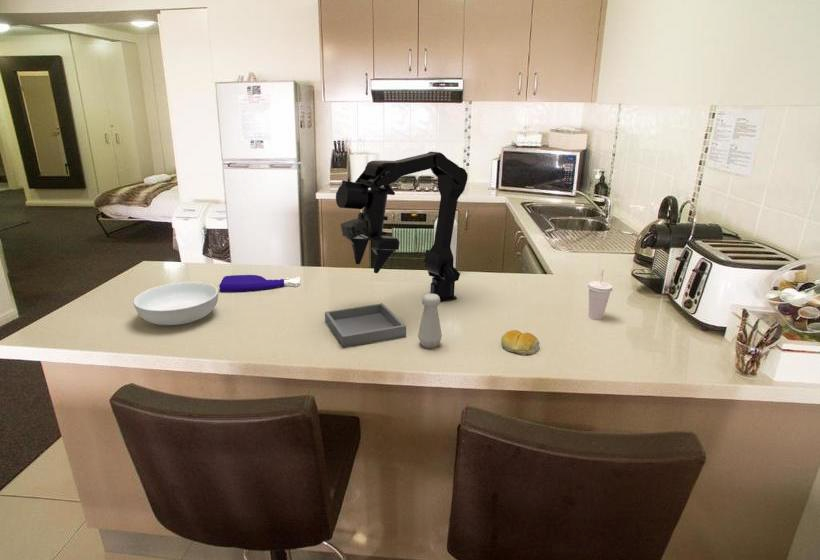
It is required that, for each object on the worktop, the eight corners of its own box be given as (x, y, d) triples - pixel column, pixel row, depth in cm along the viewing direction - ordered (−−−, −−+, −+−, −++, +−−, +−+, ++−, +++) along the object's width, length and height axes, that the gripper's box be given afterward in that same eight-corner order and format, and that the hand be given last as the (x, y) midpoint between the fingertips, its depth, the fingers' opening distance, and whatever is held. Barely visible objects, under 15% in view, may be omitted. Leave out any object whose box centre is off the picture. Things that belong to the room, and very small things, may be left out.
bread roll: (507, 337, 127) (509, 322, 126) (541, 346, 122) (543, 331, 121) (494, 349, 120) (496, 334, 119) (530, 359, 116) (531, 343, 114)
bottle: (460, 272, 176) (464, 187, 166) (444, 277, 171) (448, 190, 161) (443, 267, 181) (446, 184, 171) (428, 271, 176) (430, 187, 166)
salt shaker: (439, 351, 118) (441, 300, 114) (416, 348, 120) (417, 298, 115) (442, 340, 124) (444, 292, 120) (420, 338, 125) (421, 290, 121)
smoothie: (607, 314, 141) (614, 268, 137) (608, 323, 136) (615, 274, 131) (583, 311, 143) (590, 265, 139) (583, 319, 137) (590, 272, 133)
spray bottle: (217, 285, 152) (299, 282, 156) (223, 274, 162) (300, 272, 166) (218, 294, 153) (299, 291, 157) (224, 283, 163) (300, 280, 167)
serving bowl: (118, 326, 129) (114, 301, 127) (180, 299, 148) (177, 277, 145) (180, 340, 122) (176, 314, 120) (237, 310, 140) (234, 287, 138)
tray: (382, 313, 140) (382, 303, 139) (405, 336, 126) (406, 326, 125) (325, 322, 133) (324, 311, 132) (343, 348, 119) (342, 336, 118)
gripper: (329, 202, 131) (323, 260, 134) (367, 215, 117) (359, 278, 120) (365, 205, 137) (358, 260, 141) (404, 217, 123) (395, 277, 127)
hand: (366, 268), depth 132 cm, fingers open, 9 cm apart
